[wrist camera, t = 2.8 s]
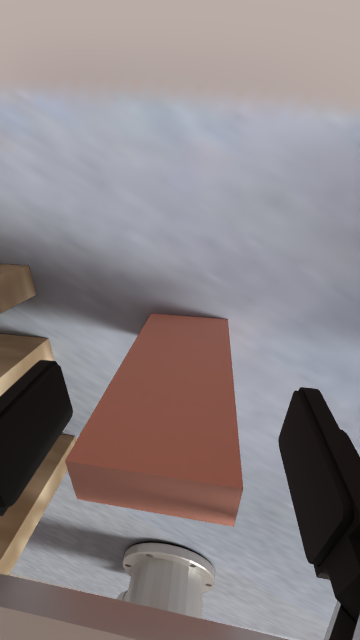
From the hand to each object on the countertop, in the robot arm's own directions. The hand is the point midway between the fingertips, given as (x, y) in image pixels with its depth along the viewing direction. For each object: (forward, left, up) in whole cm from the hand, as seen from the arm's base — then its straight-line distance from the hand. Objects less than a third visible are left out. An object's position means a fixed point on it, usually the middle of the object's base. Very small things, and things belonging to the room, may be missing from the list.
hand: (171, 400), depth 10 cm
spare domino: (0, 0, -7) cm, 7 cm away
